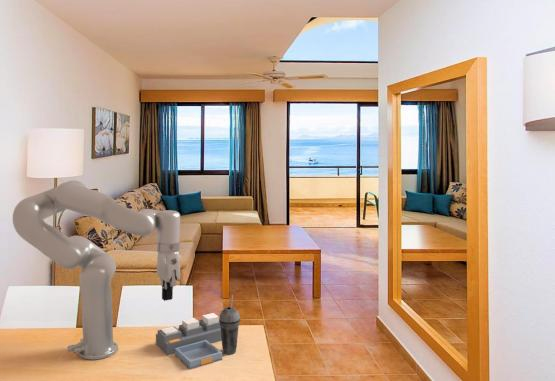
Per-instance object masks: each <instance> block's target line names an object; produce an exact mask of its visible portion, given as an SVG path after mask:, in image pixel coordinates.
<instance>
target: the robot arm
mask: <svg viewBox="0 0 555 381" xmlns="http://www.w3.org/2000/svg"><path fill="white" fill-rule="evenodd" d="M66 210H69V211H72V212H75V213H77V214H82V215H84V216H87V217H90V218H94V219H96V220H99V221H101V222H102V223H105V224H107V225H108V226H111V227H113V228H115V229H118V230H119V231H123V232H126V233H128V234H133V235H134V236H135V235H136V236H140V237H141V236H142V237H143V236H149V235H150V234H151V233H152V232H153V231H154V230H156V253H157V258H156V260H157V262H156V274H157V277H158V278H159V279H160V280H161V281H160V282H161V300H163V301H164V302H166V301H171V300H173V297H174V296H173V294H174V292H173V290H174V287H176V281H177V282H180V280H181V279H182V278H181V277H182V276H181V256H180V243H181V242H180V241H181V236H180V235H181V234H180V233H181V231H180V230H181V214H180V212H178V210H170V209H169V210H167V209H166V210H165V209H164V210H158V209H153V208H143V209H140V210H139V211H137V210H135V209H131V208H129V207H126V206H123V205H122V204H120V203H118V202H117V201H116V200H114V198H113V197H112V196H110V195H108V194H107V193H104V192H100V191H97V190H93V189H91V188H87V186H86V185H85V184H84V183H83V182H82V181H79V180H74V179H73V180H68V181H65V182H62V183H60V184H59V185H57V186H55V187H52V188H50V189H48V190H46V191H45V190H44V191H42V192H40V193H37V194H34V195H32V196H28V197H25V198H23V199H22V200H20V201H19V202H18V203H17V205H16V206H15V207H14V210H13V212H12V224H13V228H14V230H15V232H16V233H17V234H18V236H19V237H21V238H22V239H23V240H24V241H25V242H27V243H28V244H30V245H31V246H32V247H34V248H36V249H37V250H38V252H39V251H40V252H41V253H42V254H43V255H45V257H47V258H48V259H50V260H51V261H53V262H54V263H56V264H57V265H58V266H60V267H61V268H63V269H65V270H73V269H76V268H77V267H79V268H80V269H81V270H80V273H79V276H78V284H79V290H80V297H81V300H80V301H81V322H82V324H81V326H82V338H80V342H77V343H76V344H70V345H67V352H73V353H74V354H75V353H77V354H78V356H79V357H80V358H81V359H85V360H92V361H93V360H101V359H106V358H109V357H110V356H113V355H114V354H116V353H117V351H118V350H119V344H118V343H117V342H115V341H114V332H113V330H114V329H113V328H114V327H113V326H114V325H113V323H114V321H113V298H112V297H113V296H112V294H113V293H112V289H111V281H112V278H113V277H114V275H115V274H116V271H117V270H116V269H117V263H116V261H115V259H114V258H113V257H112V256H111V255H110V254H109V253H107V252H106V251H105V250H103V249H102V248H100V246H98V245H97V244H95V243H94V242H93V241H91V240H89V239H88V238H86V237H84V236H82V235H71V236H69V237H68V236H67V235H66V234H64V233H63V232H61V231H60V230H59V229H58V228H56V227H54V226H53V225H51V224H48V223H47V222H45V219H47V218H49V217H51V216H53V215H56V214H58V213H61V212H64V211H66Z"/></svg>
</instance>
